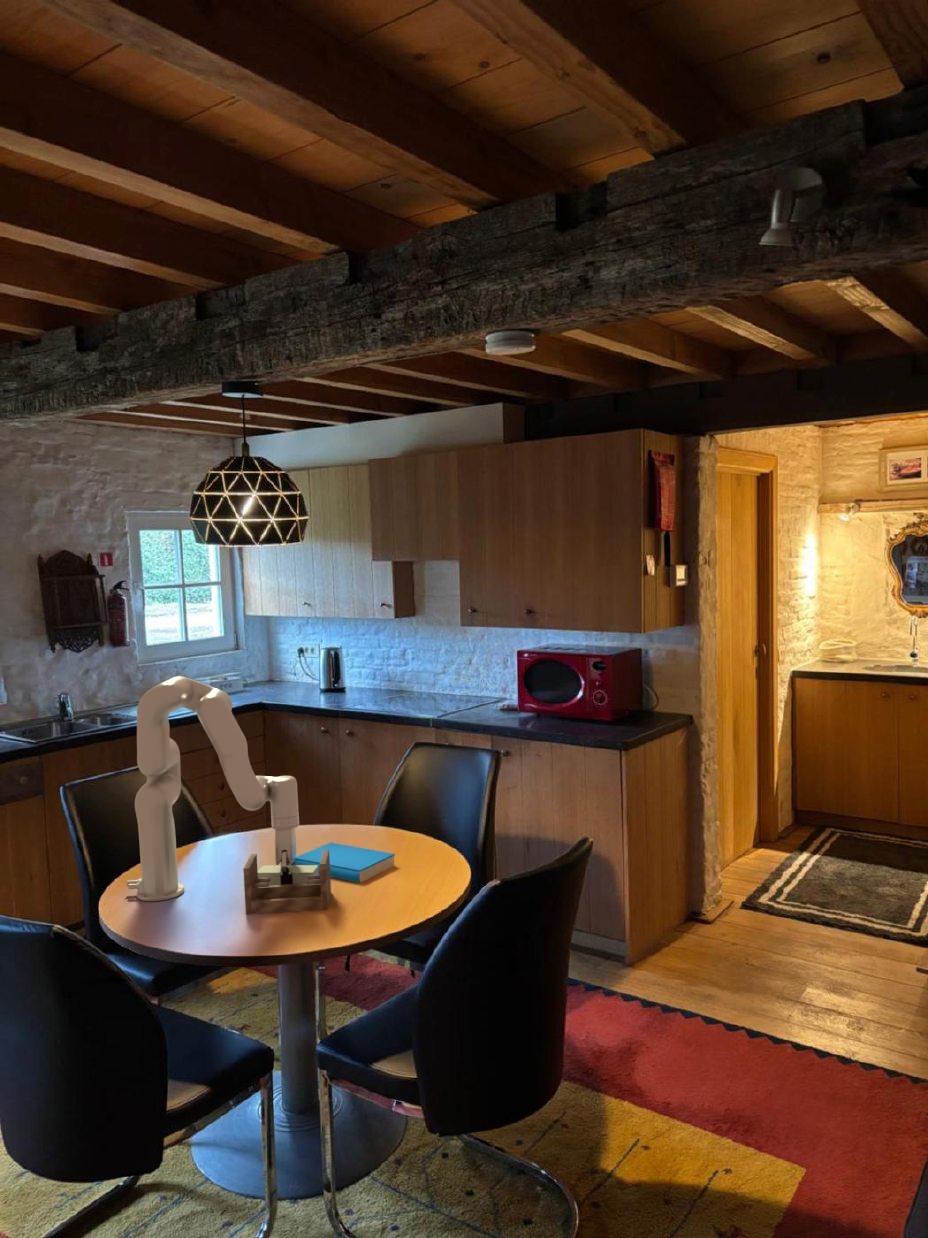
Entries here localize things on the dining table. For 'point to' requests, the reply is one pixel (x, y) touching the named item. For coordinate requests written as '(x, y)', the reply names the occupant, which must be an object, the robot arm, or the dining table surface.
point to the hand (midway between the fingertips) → (288, 883)
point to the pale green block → (297, 872)
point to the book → (349, 861)
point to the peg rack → (286, 890)
